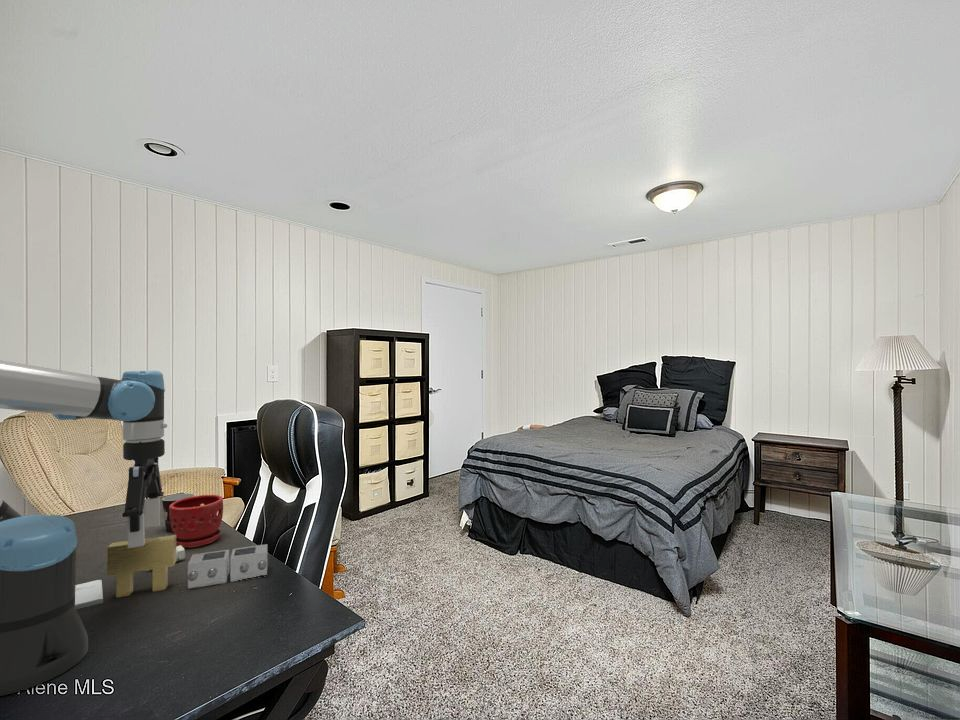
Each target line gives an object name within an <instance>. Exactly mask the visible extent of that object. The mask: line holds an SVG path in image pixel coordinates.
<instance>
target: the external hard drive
mask: <svg viewBox="0 0 960 720" xmlns="http://www.w3.org/2000/svg"><path fill="white" fill-rule="evenodd" d="M102 582H103V581H102V579H95V580H91V581H88V582H84V583H79V584H75V608H76V609H77V610H81V609H84V607H85V608H89V607H92V606H97V605H100V604H104V595H103V594H104V593H103V592H104V591H103V583H102ZM80 608H81V609H80Z"/></svg>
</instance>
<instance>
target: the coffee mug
mask: <svg viewBox="0 0 960 720" xmlns="http://www.w3.org/2000/svg"><path fill="white" fill-rule="evenodd" d="M193 496H196V494H195V493H190V492H189V493H178V494H170V495H167V496H163V497H162V499H161V501H162V511H163V516H164V517H163V518H164V524H165V532H166V533H167V534H174V532H173V530H172V527H171V522H170V516H169V506H170V505H171V504H172V503H174V502H175V501H178V500H181V499H184V498H188V497H193ZM193 507H194V506H193Z"/></svg>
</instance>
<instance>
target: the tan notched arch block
mask: <svg viewBox="0 0 960 720" xmlns="http://www.w3.org/2000/svg"><path fill="white" fill-rule="evenodd" d="M176 547H177V545H176V535H175V534H172V535H165V536H157V537H156V536H155V537H148V538H146V537H145V545H144V546H138V547H131V548H128V540H124V541H116V542H111V543H110V544H109V545H108V546H107V552H106V553H107V557H106V558H107V561H106V562H107V564H106V565H107V568H106V573H107V574H106V576H107V577H109V576H115V575H116V582H115V585H116V587H115V589H116V590H115V591H116V595H115V597H116V599H117V598H122V597H128V596H131V594H132V593H133V592H134V573H136V572H137V573H138V572H143V571H146V570H151V569H153V570H151V571H152V592H159V591H165V590H166V589H167V588H168V585H169V579H168V578H169V568H171V567H174V566H175V564H176V563H177V562H176Z"/></svg>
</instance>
